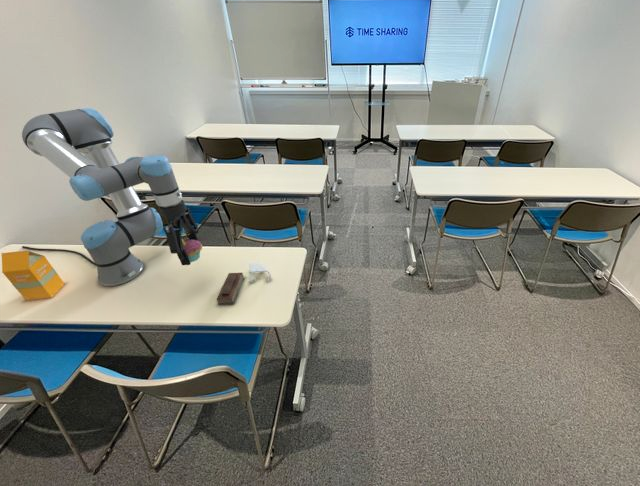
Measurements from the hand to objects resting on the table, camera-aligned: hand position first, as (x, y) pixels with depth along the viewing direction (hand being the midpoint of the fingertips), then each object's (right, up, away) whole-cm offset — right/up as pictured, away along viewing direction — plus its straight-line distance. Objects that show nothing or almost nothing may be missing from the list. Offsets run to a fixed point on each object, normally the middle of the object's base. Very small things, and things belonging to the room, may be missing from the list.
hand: (192, 256), depth 109 cm
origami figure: (+21, -11, +13) cm, 27 cm away
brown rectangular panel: (+12, -14, +6) cm, 20 cm away
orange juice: (-62, -15, +7) cm, 64 cm away
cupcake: (0, -1, +1) cm, 1 cm away
